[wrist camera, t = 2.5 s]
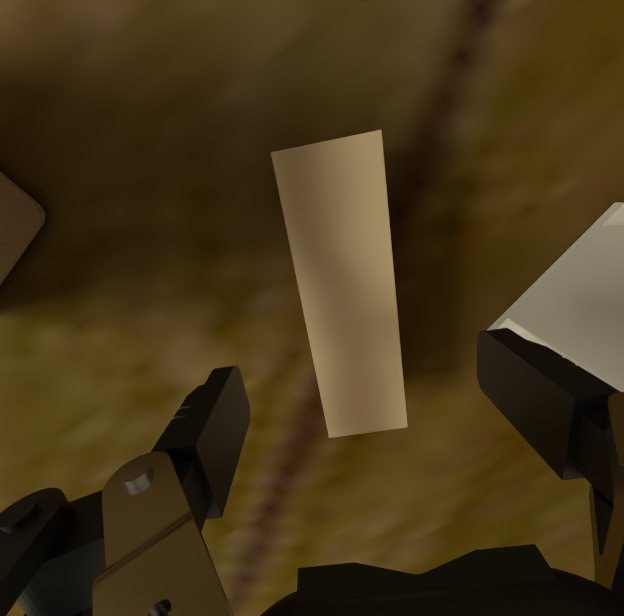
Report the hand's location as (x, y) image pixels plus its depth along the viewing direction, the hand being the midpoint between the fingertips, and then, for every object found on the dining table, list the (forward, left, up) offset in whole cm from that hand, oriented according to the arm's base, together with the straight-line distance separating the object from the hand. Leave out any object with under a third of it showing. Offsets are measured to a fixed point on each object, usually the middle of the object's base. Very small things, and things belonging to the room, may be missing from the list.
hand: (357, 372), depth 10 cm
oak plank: (0, 0, -10) cm, 10 cm away
